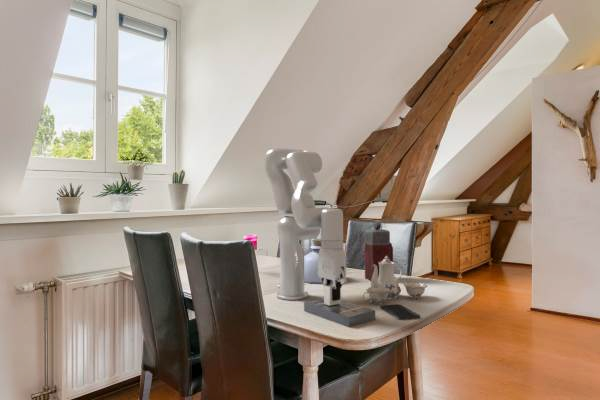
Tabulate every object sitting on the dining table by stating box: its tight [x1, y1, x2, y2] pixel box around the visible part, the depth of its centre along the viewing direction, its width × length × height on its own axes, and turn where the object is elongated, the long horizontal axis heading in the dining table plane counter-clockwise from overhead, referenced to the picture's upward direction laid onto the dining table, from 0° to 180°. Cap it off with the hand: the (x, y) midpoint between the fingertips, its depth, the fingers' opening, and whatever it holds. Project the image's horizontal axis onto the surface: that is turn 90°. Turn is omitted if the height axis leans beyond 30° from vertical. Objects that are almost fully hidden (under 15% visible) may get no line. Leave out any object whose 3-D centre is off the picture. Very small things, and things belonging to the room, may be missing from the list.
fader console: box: [303, 297, 376, 328], centre depth 138 cm, size 22×12×3 cm, turn 37°
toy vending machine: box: [364, 219, 394, 282], centre depth 195 cm, size 9×11×28 cm
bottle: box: [304, 238, 333, 285], centre depth 196 cm, size 20×20×19 cm
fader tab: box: [323, 284, 342, 306], centre depth 140 cm, size 3×5×6 cm, turn 127°
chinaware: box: [362, 256, 428, 305], centre depth 159 cm, size 28×17×17 cm, turn 121°
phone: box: [380, 303, 421, 321], centre depth 140 cm, size 8×1×15 cm
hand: (332, 298), depth 140 cm, fingers closed on fader tab, 3 cm apart
